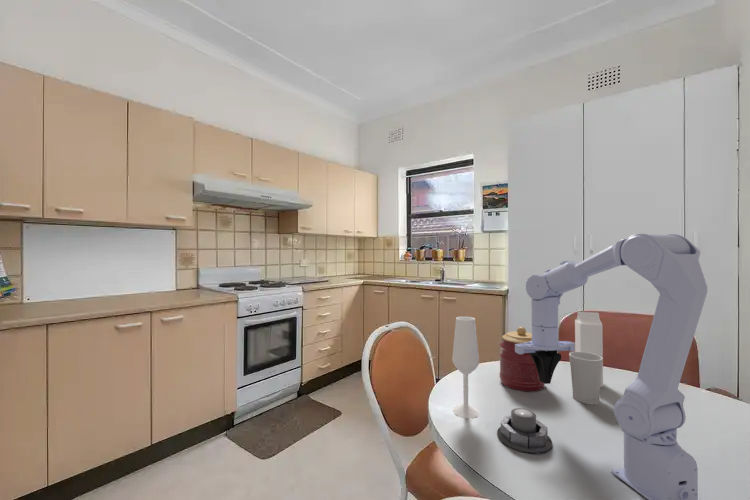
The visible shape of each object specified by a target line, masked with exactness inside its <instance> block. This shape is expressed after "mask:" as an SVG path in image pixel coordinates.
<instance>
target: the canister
mask: <svg viewBox="0 0 750 500" xmlns="http://www.w3.org/2000/svg"><path fill="white" fill-rule="evenodd" d="M501 338H502V339H503V340H501V341H500V342H499V344H498V345H499V347H500V352H499V379H500V383H501V384H502V385H503V386H505V387H506V388H509V389H512V390H517V391H520V392H521V391H522V392H538V391H541V390H544V388H545V385H546V384H545V383H543V382H541V381H540V378H539V374H538V371H537V368H536V365H535V363H534V361H533V359H532V357H531V355H530V353H524V354H518V353H516V352H515V344H521V343H525V342H530V341H531V340H532V332H527V330H526V328H525V327H523V326H519V327H517V329H516V330H515V331H508V332H507V333H505V334H503V335H502V336H501Z"/></svg>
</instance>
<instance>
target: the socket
mask: <svg viewBox="0 0 750 500" xmlns="http://www.w3.org/2000/svg"><path fill="white" fill-rule="evenodd" d="M548 431H549V430H548V427H547V426H546V425H545V424H543V423H542V422H541V421H540V420H538V419H536V433H530V434H526V433H523V432H519V431H516V430H513V429H512V428H511V415H505V416H504V417H503V419H502V420H501V421H500V427H498V429H497V430H496V435H497V438H498V440H499V441H500V442H501V443H502V445H504V446H506V447H508V448H510V449H512V450H514V451H515V452H516V451H517V452H520V453H523V454H527V455H528V454H530V455H541V454H546V453H548V452H549V451H551V450H552V448H553V441H552V439H551V438H550V436H549V435H548Z"/></svg>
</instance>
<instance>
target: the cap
mask: <svg viewBox="0 0 750 500" xmlns="http://www.w3.org/2000/svg"><path fill="white" fill-rule="evenodd" d="M510 412H511V413H510V416H511V428H512V429H513V430H516V431H519V432H523V433H526V434H530V433H536V420H537V415H536V413H535V412H534V411H532V410H530V409H527V408H520V407H519V408H513V409H511V411H510Z"/></svg>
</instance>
